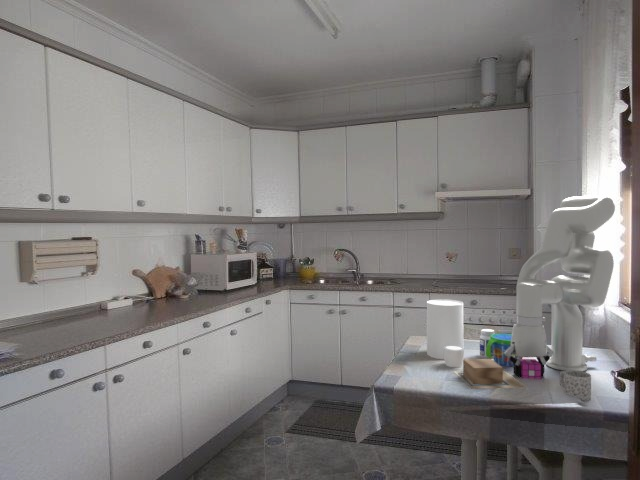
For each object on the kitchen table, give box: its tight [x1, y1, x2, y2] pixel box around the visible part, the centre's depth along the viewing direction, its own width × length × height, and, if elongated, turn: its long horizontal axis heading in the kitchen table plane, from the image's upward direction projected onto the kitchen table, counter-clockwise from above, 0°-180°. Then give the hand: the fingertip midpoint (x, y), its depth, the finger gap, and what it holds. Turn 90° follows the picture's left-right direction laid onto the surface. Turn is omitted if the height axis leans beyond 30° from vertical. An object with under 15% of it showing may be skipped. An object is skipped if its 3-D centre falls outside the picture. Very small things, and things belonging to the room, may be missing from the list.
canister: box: [426, 299, 464, 360], centre depth 174 cm, size 14×14×20 cm
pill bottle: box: [479, 328, 495, 359], centre depth 171 cm, size 6×6×10 cm
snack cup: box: [486, 333, 515, 367], centre depth 160 cm, size 16×10×10 cm
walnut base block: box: [462, 358, 504, 384], centre depth 144 cm, size 9×9×5 cm
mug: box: [559, 370, 592, 402], centre depth 133 cm, size 10×7×7 cm, turn 12°
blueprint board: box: [453, 369, 528, 390], centre depth 144 cm, size 17×16×1 cm
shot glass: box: [444, 345, 465, 368], centre depth 159 cm, size 7×7×7 cm
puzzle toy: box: [520, 358, 542, 380], centre depth 147 cm, size 6×6×6 cm
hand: (528, 375), depth 147 cm, fingers open, 6 cm apart
